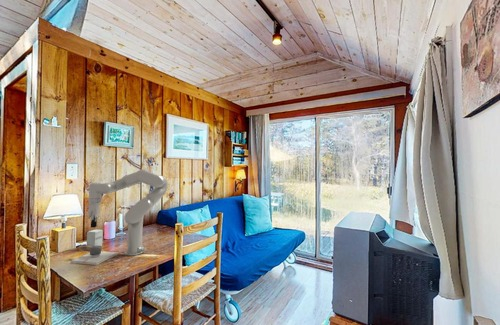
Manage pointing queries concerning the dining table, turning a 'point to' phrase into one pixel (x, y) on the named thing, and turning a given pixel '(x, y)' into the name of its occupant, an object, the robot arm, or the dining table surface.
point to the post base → (94, 258)
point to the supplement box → (94, 238)
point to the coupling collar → (91, 249)
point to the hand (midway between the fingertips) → (93, 227)
